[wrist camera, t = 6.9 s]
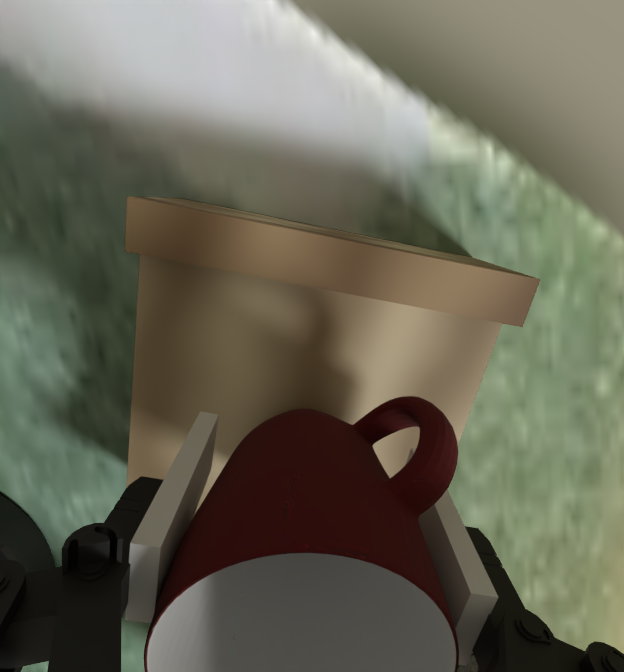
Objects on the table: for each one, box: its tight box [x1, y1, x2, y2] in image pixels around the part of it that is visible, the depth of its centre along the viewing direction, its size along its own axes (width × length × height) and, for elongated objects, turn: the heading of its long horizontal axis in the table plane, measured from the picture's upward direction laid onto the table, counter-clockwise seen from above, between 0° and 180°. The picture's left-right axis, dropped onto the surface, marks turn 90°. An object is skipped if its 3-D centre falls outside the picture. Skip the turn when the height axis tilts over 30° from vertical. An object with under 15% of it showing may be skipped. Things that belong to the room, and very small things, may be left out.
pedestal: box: [125, 196, 540, 515], centre depth 21 cm, size 16×18×6 cm
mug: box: [144, 396, 459, 672], centre depth 14 cm, size 11×8×10 cm
